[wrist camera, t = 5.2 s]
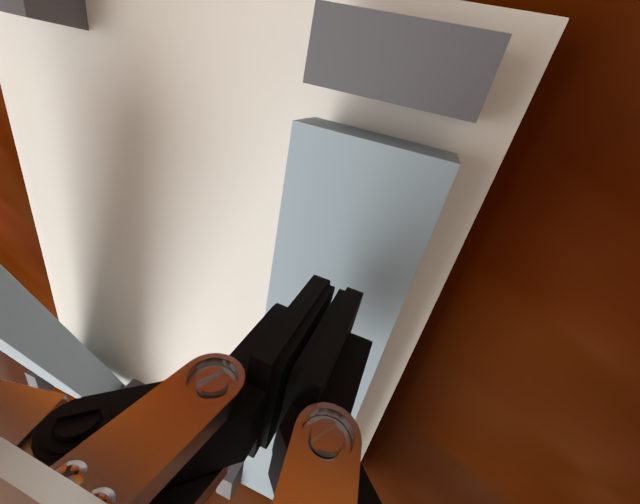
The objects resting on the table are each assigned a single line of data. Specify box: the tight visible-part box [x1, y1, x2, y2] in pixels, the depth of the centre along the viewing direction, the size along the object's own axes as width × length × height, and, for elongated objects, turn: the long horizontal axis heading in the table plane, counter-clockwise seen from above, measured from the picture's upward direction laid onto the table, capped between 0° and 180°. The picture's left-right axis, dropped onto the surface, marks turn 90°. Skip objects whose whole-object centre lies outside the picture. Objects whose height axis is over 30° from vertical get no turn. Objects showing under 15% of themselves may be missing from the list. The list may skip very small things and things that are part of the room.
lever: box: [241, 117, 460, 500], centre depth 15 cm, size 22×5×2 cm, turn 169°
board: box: [0, 0, 569, 500], centre depth 18 cm, size 28×24×6 cm
